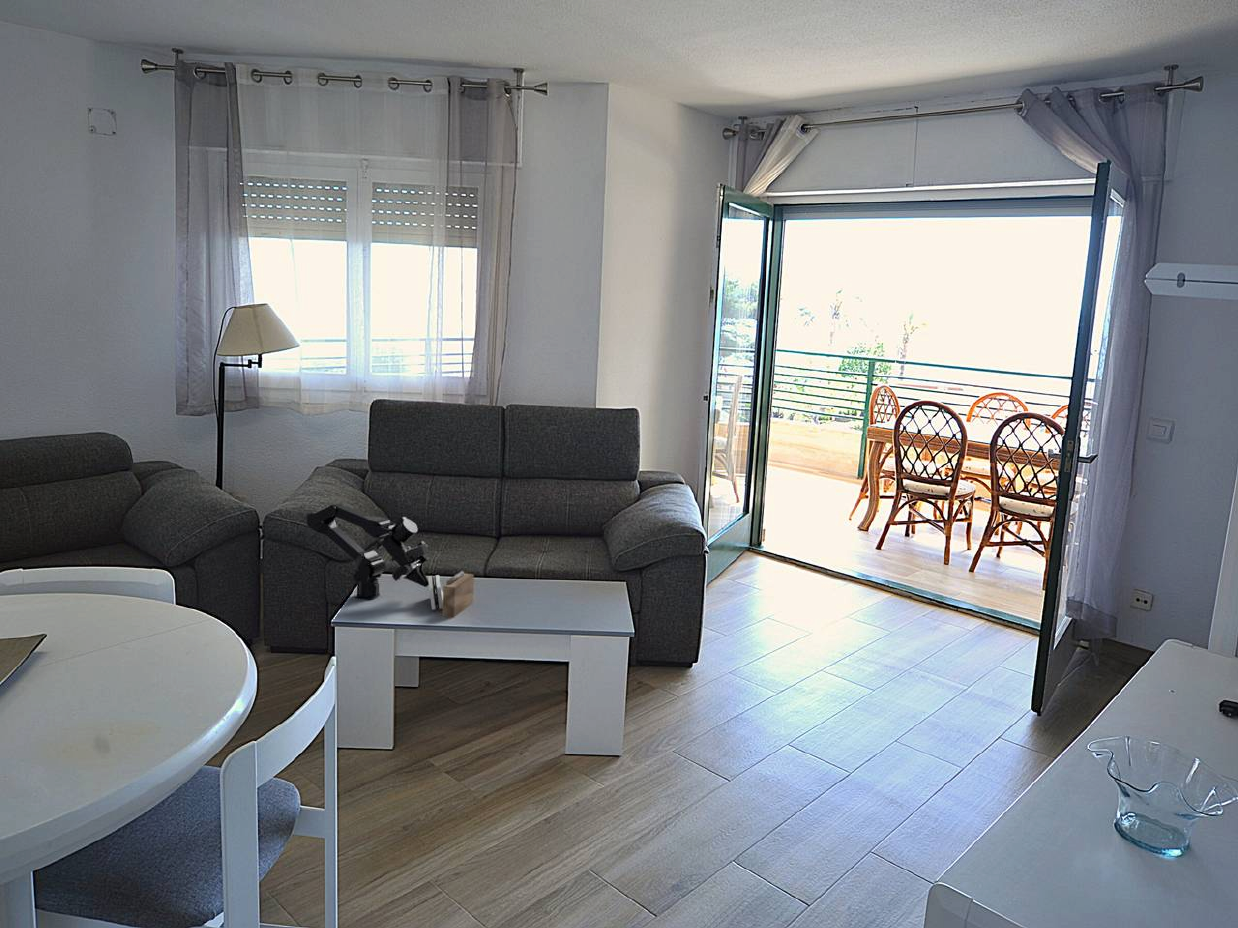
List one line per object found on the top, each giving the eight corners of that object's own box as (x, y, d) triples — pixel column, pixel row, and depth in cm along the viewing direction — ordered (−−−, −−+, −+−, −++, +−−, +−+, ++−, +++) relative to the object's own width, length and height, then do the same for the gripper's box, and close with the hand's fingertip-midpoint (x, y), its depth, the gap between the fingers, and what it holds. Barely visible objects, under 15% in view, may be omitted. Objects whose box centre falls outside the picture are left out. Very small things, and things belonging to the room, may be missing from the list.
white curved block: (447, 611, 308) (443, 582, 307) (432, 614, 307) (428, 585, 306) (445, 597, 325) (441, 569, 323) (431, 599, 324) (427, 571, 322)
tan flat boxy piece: (441, 615, 305) (442, 581, 303) (460, 601, 321) (461, 569, 320) (453, 617, 304) (455, 583, 302) (472, 602, 320) (473, 570, 319)
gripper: (401, 541, 303) (432, 577, 303) (425, 529, 321) (454, 564, 321) (378, 562, 306) (409, 598, 305) (403, 549, 324) (432, 584, 324)
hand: (427, 585), depth 314 cm, fingers closed
